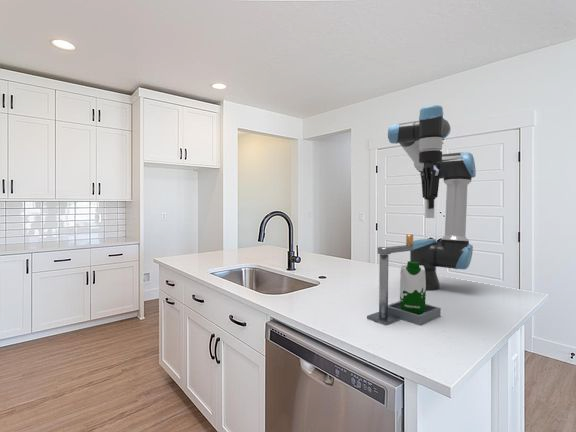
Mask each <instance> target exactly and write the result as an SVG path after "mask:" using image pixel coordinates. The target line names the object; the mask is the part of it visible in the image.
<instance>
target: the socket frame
mask: <svg viewBox="0 0 576 432" xmlns="http://www.w3.org/2000/svg"><path fill="white" fill-rule="evenodd" d="M441 309H442V308H440V307H438V306H435V305H431V304H427V303H425V310H424V313H423V314H420V315H417V314H414V313H410V312H407V311H404V310H401V305H400V300H398V301H396V302H392V303H390V304H389V303H388V314H391V315H395V316H398V317H400V320H402V321H406V322H409V323H412V324H414V325H418V326H422V325H424V324H426V323H428V322H430V321H433V320H435V319H437V318H439V317H441V315H442V314H441Z"/></svg>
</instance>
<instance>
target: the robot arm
mask: <svg viewBox="0 0 576 432" xmlns="http://www.w3.org/2000/svg"><path fill="white" fill-rule="evenodd" d="M418 116H419V117H418V120H417V121H415V120H414V121H409V122H403V123H395V124H392V125H390V126H389V127H388V130H387V139H388V142H389V143H390V144H399V145H400V146H401V147H402V149H403V150H404V151H405V153H406V154H407V156H408V157H409V159H410V160H412V162H413V165H414V168H415V169H416V170H417V172H419V174H420V179H421V181H420V182H421V193H422V198H423V199H424V218H425V219H435V200H436V198H438V197H439V187H440V186H439V185H440V179H443V183H444V184H445V185H446V193H445V194H446V200H445V221H444V222H445V223H444V236H442V237H441V238H440V242H438V241H437V239H436V238H424V239H415V240H413V251H409V252H410V255H409V257H410V258H409V260H410V261H416V262H419V265H420V266H424V268H425V273H426V277H425V278H426V291H435V290H439V289H440V280H439V278H438V275H437V268H443V269H453V270H467V269H468V268H469V267H470V265H471V261H472V256H473V252H474V249H473V248H474V247H473V245H472V244H471V243H470V240H469V239H468V238H467V237H466V232H467V231H466V230H467V229H466V228H467V204H468V185H469V184H471V182H472V179H473V178H475V177H476V174H477V173H476V163H475V158H474V156H473V153H472V152H469V151H468V152H453V153H451V152H450V153H443V152H442V151H441V150H442V149H443V144H444V141H443V140H444V139H446V138H447V137H448V136H449V135H450V133H451V125H450V123H449V121H448V120H446V119H445V118H444V110H443V106H441V105H439V104H433V105H432V104H431V105H426V106H423V107H421V108H420V110H419V115H418Z"/></svg>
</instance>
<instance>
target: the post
mask: <svg viewBox="0 0 576 432" xmlns="http://www.w3.org/2000/svg"><path fill="white" fill-rule="evenodd" d="M389 255H390V254H379V269H378V270H379V271H378V272H379V277H378V278H379V280H378V282H379V284H378V288H379V289H378V292H379V293H378V294H379V295H378V297H379V298H378V311H377V312H374V313H371V314H369V315H367V316H366V319H367V320H370V321H373V322H376V323H378V324H381V325H384V326H388V325H390V324H393V323H396V322H398V321H400V320H401V319H400V317H398V316H395V315H391V314H388V305H389Z"/></svg>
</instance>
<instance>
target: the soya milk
mask: <svg viewBox="0 0 576 432" xmlns="http://www.w3.org/2000/svg"><path fill="white" fill-rule="evenodd" d="M399 274H400V275H399V276H400V278H399V301H400V305H401V310H404V311H407V312H410V313H414V314H417V315H420V314H423V313H424V310H425V304H426V293H427V292H426V291H427V290H426V278H425V277H426V273H425V268H424V266H420V265H419V262H416V261H407V263H406V264H401V267H400V273H399Z"/></svg>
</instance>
